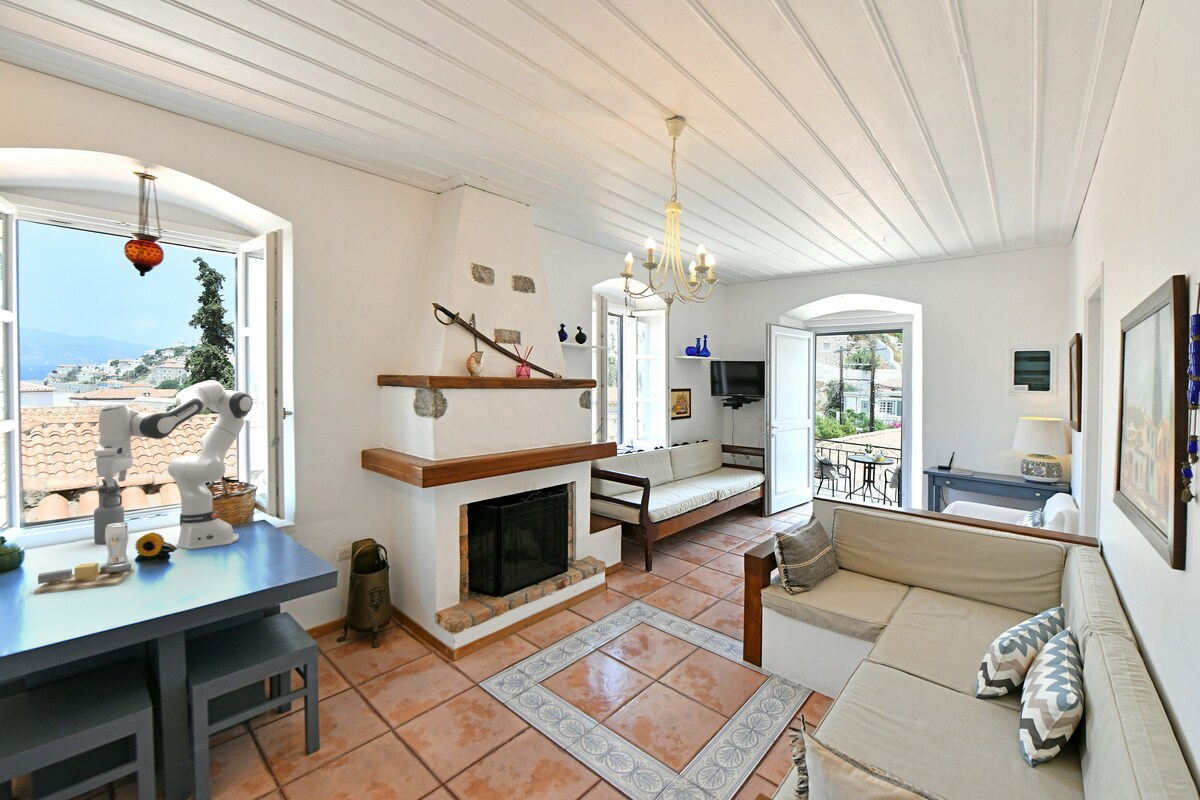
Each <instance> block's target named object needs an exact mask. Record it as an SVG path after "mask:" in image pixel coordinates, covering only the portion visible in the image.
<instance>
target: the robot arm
mask: <svg viewBox="0 0 1200 800" xmlns="http://www.w3.org/2000/svg"><path fill="white" fill-rule="evenodd" d="M175 403H176V407H175V408H172V409H171V410H169V411H167V412H160V413H159V412H156V413H155V412H141V411H137V410H135V409H132V408H130V407H129V406H128V405H125V404H116V405H109V406H106V407H105V406H104V407H103V408H101V410H100V412H99V415H98V431H99V434H100V437H99V439H98V441H99V443H98V446H97V447H96V449H95V450H94V452H93V454H94V456H95V457H96V460H95V464H96V465H95V467H96V473H97V475H98V477H99V478H100V477H104V479H105V480H106V482H107V487H112V486H114V485H115V481H114V480H113V479H114V477H115V476H114V475H116V474H119V475H118V478H117V480H118V481H117V482H119V483H120V482H121V483H122V482H125V481H126V476H127V474H128V469H130V468H132V467H133V465H134V464H133V462H134V461H133V453H132V438H131V437H135V438H136V437H138V438H150V439H155V440H160V439H164V438H167V437H168V436H169V435H170V434H171V433H173V431H174V430H175V429H176V428H177V427H178V426H180V425H181V424H183V423H184V422H186V421H188V420H189V419H191V418H192V417H195V416H196V415H197V414H198V413H200V412H201V411H203V410H207V411H209V412H212V413H218V418H217V420H216V421H215V422H214V423H213V424H212V425H211V427H210V428H209V429H208V430H207V432H206V433H205V434H204V435H203V437H202V438H201V440H200V443H199V444H200V446H201V450H200V453H199V454H198V455H197V456H192V455H185V456H183V455H182V456H179V457H176V458H174V459H172V460H171V461H170V462H169V464H168V466H167V472H168V474H169V476H171V478H173V480H174V481H175V483H176V486H177V488H178V491H179V495H180V502H181V503H180V507H181V511H180V512H181V513H180V514H179V515H180V516H179V524H180V532H179V536H178V537H179V538H178V541H177V545H176V546H177V547H178V548H182V549H186V550H196V549H197V550H198V549H203V548H204V549H205V548H209V547H210V548H212V547H217V546H218V547H219V546H225V545H230V544H234V543H236V542H237V541H238V540H239V539H240V535H239V533H234V529H233V526H232V525H231V524H230V523H228V522H227V521H224V520H222V519H220V518H219V511H218V510H217V511H216V510H214V509H213V493H212V491H211V490H210V489H209V487H208V486H207V484H206V483H213V482H218V481H219V480H221V479H223V477H224V475H225V473H226V471H227V470H226V466H225V463H224V460H225V456H226V454H227V452H228V451H229V449H230V448H231V447H232V444H233V443H234V442H235V440H236V439H237V438H238V436H239V434H240V432H241V430H242V429H243V426H244V424H245V417H246V416H247V415H248V413H249V412H250V411H251V409H252V407H253V398H252V396H251V395H250V394H248V393H246V392H244V391H236V390H232V389H225V388H224V386H223V385H222V383H220V382H219V381H217V380H213V379H212V380H211V379H210V380H205V381H202V382H198V383H194V384H193V385H190V386H188V387H185V388H184V389H181V390H180V391H179V392H177V393H176V395H175ZM235 541H236V542H235ZM233 542H234V543H233Z"/></svg>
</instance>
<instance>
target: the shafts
mask: <svg viewBox="0 0 1200 800" xmlns="http://www.w3.org/2000/svg"><path fill="white" fill-rule="evenodd" d="M131 569H132V563H120V564H109V565H103V566H101V567H99V572H100V574H101V575H105V574H114V573H124V572H130V571H131ZM72 574H73V569H72V568H69V569H63V570H56V571H49V572H48V571H47V572H41V573H39V574H38V575H37V584H38V585H40V584H42V585H43V584H45V583H48V582H54V581H61V580H67V579H71V578H72Z"/></svg>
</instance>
